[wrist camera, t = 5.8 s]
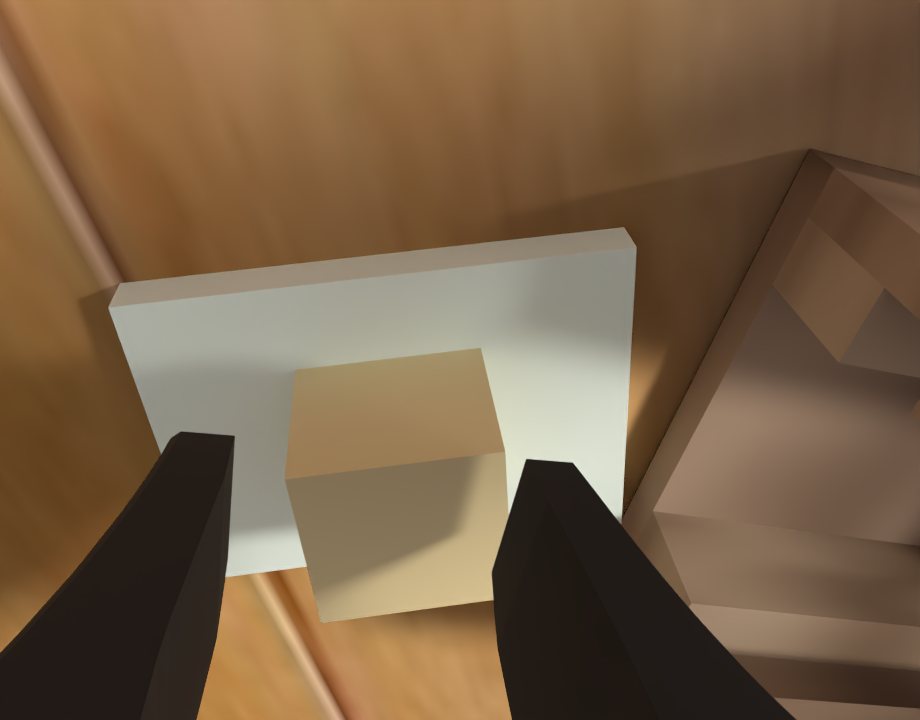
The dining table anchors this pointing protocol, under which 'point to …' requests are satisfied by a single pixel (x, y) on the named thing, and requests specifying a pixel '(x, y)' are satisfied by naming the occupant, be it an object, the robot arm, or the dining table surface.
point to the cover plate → (381, 312)
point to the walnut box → (807, 455)
